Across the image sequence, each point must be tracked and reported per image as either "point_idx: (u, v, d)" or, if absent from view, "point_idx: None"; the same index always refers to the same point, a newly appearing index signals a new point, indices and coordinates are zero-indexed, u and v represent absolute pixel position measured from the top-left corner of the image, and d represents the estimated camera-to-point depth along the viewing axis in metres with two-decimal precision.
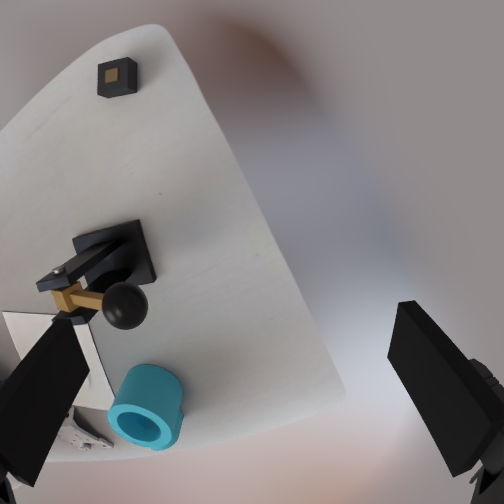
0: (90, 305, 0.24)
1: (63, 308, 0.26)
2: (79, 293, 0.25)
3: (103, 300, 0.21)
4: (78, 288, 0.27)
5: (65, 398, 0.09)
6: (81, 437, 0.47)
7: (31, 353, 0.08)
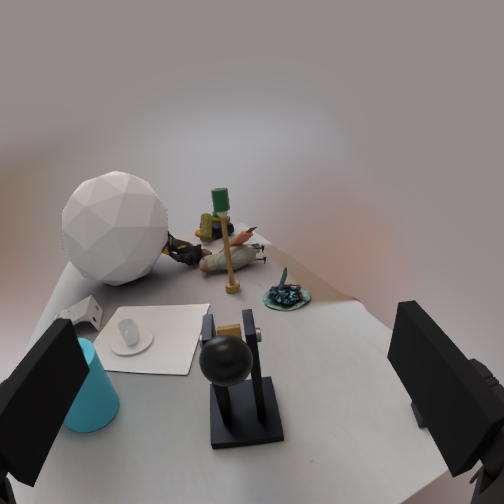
0: None
1: (220, 328, 0.30)
2: None
3: (239, 338, 0.21)
4: None
5: (65, 398, 0.09)
6: (69, 318, 0.54)
7: (31, 353, 0.09)
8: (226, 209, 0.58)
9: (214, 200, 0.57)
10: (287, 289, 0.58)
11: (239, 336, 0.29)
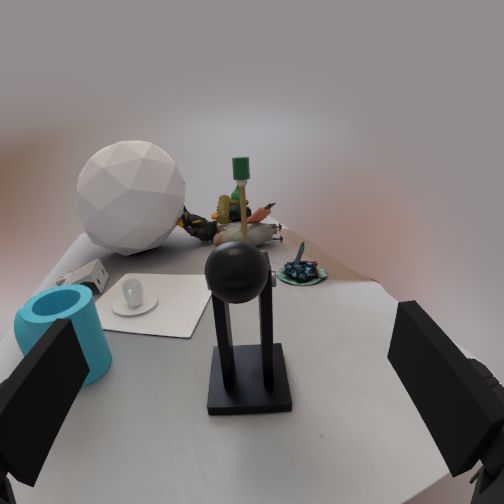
0: None
1: None
2: None
3: None
4: None
5: (65, 398, 0.09)
6: (72, 279, 0.53)
7: (31, 353, 0.08)
8: (246, 177, 0.56)
9: (234, 167, 0.55)
10: (303, 264, 0.56)
11: None
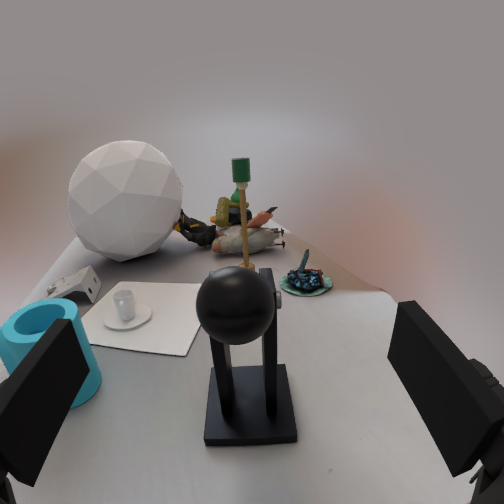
0: None
1: None
2: None
3: None
4: None
5: (65, 398, 0.09)
6: (63, 287, 0.49)
7: (31, 353, 0.08)
8: (246, 180, 0.52)
9: (234, 169, 0.52)
10: (307, 273, 0.52)
11: None
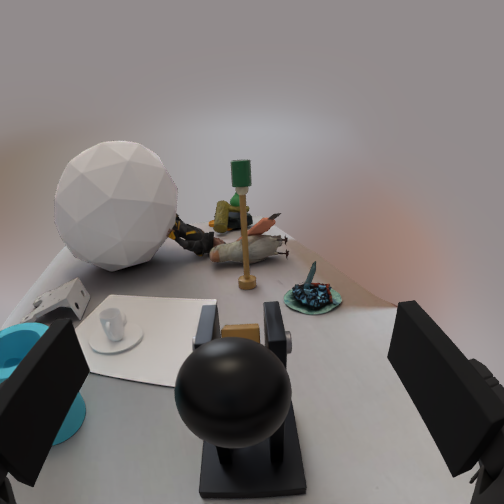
0: None
1: (228, 327, 0.19)
2: None
3: None
4: None
5: (65, 398, 0.09)
6: (48, 302, 0.44)
7: (31, 353, 0.08)
8: (247, 184, 0.47)
9: (233, 172, 0.47)
10: (315, 288, 0.47)
11: (257, 342, 0.18)
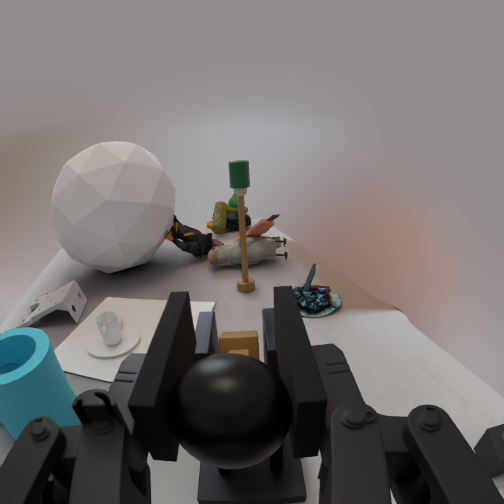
0: None
1: (225, 334, 0.18)
2: None
3: (264, 363, 0.09)
4: None
5: None
6: (45, 305, 0.43)
7: (163, 323, 0.11)
8: (245, 185, 0.46)
9: (231, 173, 0.46)
10: (314, 291, 0.46)
11: (256, 351, 0.17)
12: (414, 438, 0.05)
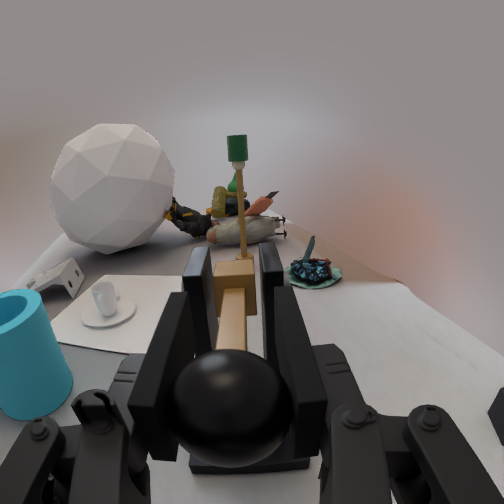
0: (227, 320, 0.13)
1: (219, 268, 0.17)
2: None
3: (265, 361, 0.08)
4: (246, 308, 0.17)
5: None
6: (41, 281, 0.43)
7: (163, 323, 0.11)
8: (243, 158, 0.46)
9: (230, 147, 0.45)
10: (314, 263, 0.46)
11: (252, 290, 0.16)
12: (415, 438, 0.05)
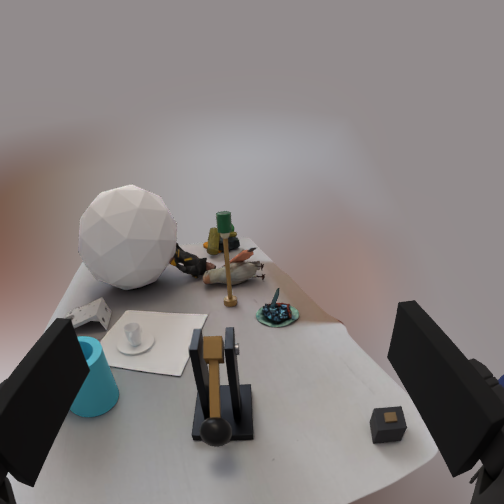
0: (212, 391, 0.33)
1: (206, 349, 0.35)
2: (218, 374, 0.35)
3: (224, 427, 0.30)
4: (219, 362, 0.36)
5: (65, 398, 0.09)
6: (80, 317, 0.61)
7: (31, 353, 0.08)
8: (228, 231, 0.64)
9: (218, 222, 0.64)
10: (278, 307, 0.64)
11: (221, 360, 0.35)
12: None
